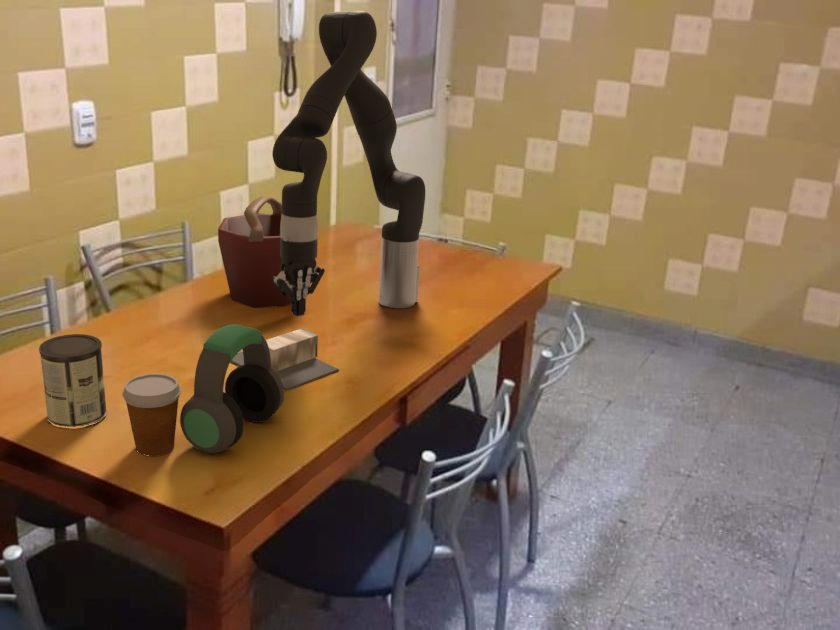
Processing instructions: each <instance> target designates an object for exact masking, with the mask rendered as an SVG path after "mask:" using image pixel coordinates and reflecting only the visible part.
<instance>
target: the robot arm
mask: <svg viewBox="0 0 840 630" xmlns="http://www.w3.org/2000/svg"><path fill="white" fill-rule="evenodd" d="M377 30H378V29H377V25H376V22H375V19H374V17H373V16H372V14H370V13H369V12H368V11H366V10H343V11H330V12H327V13H324V15H322V16H321V18H320V20H319V23H318V35H319V39H320V40H319V41H320V44H321V48H322V50H323V52H324V54H325V57H326V59H327V61H328V63H329V65H330V67H329V68H328V69H326V71H324V72H323V73H322V74H321V75H320V76H319V77H318V78H316V80H315V81H314V82H313V83H312V84H311V85H310V86H309V88H308V90H306V93H305V95H304V97H303V100H302V102H301V104H300V107H299V109H298V111H297V113H296V115H295V116H294V117H293V119H291V120H290V122H289V123H288V125H286V126H285V128H284V129H283V130H282V131H281V133H279V135H278V137H277V138H276V139H275V141H274V144H273V147H272V152H271V153H272V160H273V164H275V166H276V167H277V168H278V169H279V170H283V171H284V172H285V171H287V172H294V173H302V174H303V178H302V181H298V182H297V181H295V182H289V183H287V184H285V185H284V186H283V187H282V190H281V204H282V216H281V224H280V256H281V258H282V265H281V268H280V270H281V272H280V273H279V275H278V276H277V277H275V276H274V277H272V282H273V283H274V285H275V286H276V287H277V288H278V290H279V291H280V292H281V294H282V295H283V296H285V297H288V298H290V299H291V303H290V312H291V313H292V315H293V316H295V317H301V316H304V315H305V313H306V308H307V306H306V305H307V303H306V302H307V298H308V296H309V295H312V294H313V293H314V292H315V290H316V289H317V286H318V285H319V283H320V281H321V279H322V278H323V276H324V274H325V272H326V270H325V268H323V267H320V266H319V265H317V260H316V259H317V258H318V246H319V245H318V239H319V238H318V237H319V235H318V234H319V233H318V231H319V224H318V223H319V222H318V193H319V188H320V186H321V185H320V183H321V180H322V177H323V173H324V171H325V167H326V165H327V159H328V151H327V147H326V145H325V143H324V142H323V141H322V140H321V139H319V138H323V137H325V136H326V135H328V133H329V131H330V129H331V127H332V124H333V121H334V119H335V117H336V114H337V112H338V109H339V108H340V105H341V103H342V100H343V99H345V102H346V103H347V106H348V110H349V113H350V115H351V116H350V117H351V119H352V122H353V124H354V127H355V130H356V133H357V135H358V137H359V139H360V142H361V145H362V148H363V151H364V154H365V157H366V161H367V162H368V163H367V164H368V167H369V171H370V175H371V179H372V184H373V188H374V191H375V195H376V198H377V199H378V202H379V203H380V204H381V205H382V206H384V207H385V208H388V209H391V210H395V211H398V212H397V219H396V220H394V221H393V220H392V221H389V222H386V223H384V224H383V225H382V227H381V239H380V240H381V241H380V243H381V244H380V266H379V288H378V289H379V290H378V302H379V304H380V306H381V305H382V306H383V307H386V308H390V309H407V308H411V307H413V306H414V305H416V302H418V300H419V299H418V298H419V287H420V285H419V284H420V283H419V282H420V281H419V280H420V269H421V267H420V265H418V259H419V244H420V243H419V241H420V232H421V229H422V226H423V221H424V214H425V213H424V211H425V204H426V203H425V202H426V184H425V182H424V179H423V178H422V177H421V176H419V175H417V174H413V173H409V172H403V171H400V170H399V169H398V168H397V167H396V164H395V163H394V159H393V155H392V147H393V144H394V142H395V138H396V136H397V131H398V126H397V120H396V117H395V114H394V113H395V112H394V111H393V107H392V105H391V104H392V103H391V102H390V99H389V97H388V96H387V95H386V93H385V92H384V91H383V90H382V89H381V88H380V87H379V86H378V85H377V84H376V83H375V82H374V81H373V80H372V79H371V78H369V76H368V75H367V74H366V73H364V71H363V70H362V67H363V66H364V65H365V63H366V62H367V60H368V59H369V57H370V55H371V54H372V52H373V50H374V48H375V45H376V42H377V37H378V36H377V33H378V32H377ZM285 278H286V279H285ZM286 280H287V281H286ZM286 283H287V284H286Z"/></svg>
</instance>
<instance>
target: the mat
mask: <svg viewBox="0 0 840 630" xmlns="http://www.w3.org/2000/svg"><path fill="white" fill-rule="evenodd" d="M230 363H233V364H234V365H236V366H237V367H239V366H242V365H244V356H243V351H239V352H238V353H237V354H236V355H235V357H234V358H233V359H232V361H231V362H230ZM336 372H339V368H337V367H335V366H333V365H331V364H329V363H327V362H326V361H325V362H324V361H322V360H320V359H318V358H317V357H315V358H312V359H310V360H307V361H304V362H301V363H298V364H296V365H293V366H290V367H287V368H284V369H282V370H279V371H276V373H277V374H278V375H279V377H280V379H281V381H282V383H283V387H284V391H289V390H292V389H294V388H298V387H299V386H302V385H305V384H307V383H310V382H313V381H316V380H318V379H321V378H323V377H326V376H328V375H331V374H333V373H336Z"/></svg>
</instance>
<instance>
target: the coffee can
mask: <svg viewBox="0 0 840 630" xmlns="http://www.w3.org/2000/svg"><path fill="white" fill-rule="evenodd" d="M102 344H103V343H102V341H101V339H99V337H96V336H94V335H89V334H85V333H84V334H81V333H79V334H78V333H76V334H75V333H73V334H63V335H59V336H55V337H51V338H49V339H47V340H45V341H43V342H42V343H40V345H39V347H38V351H39V355H40V360H41V363H40V364H41V372H42V379H43V388H44V396H45V397H44V398H45V404H46V415H47V417H48V420H49V421H50V422H51V423H53V424H55V425H59V426H65V427H66V426H67V427H76V426H84V425H89V424H92V423H96V422H98V421H100V422H102V421H103V420H104V419H105V418H106V417H107V415H106V414H108V410H107V404H106V403H107V401H106V391H105V379H104V365H103V355H102V347H103V345H102ZM105 416H106V417H105ZM104 417H105V418H104ZM103 418H104V419H103ZM102 419H103V420H102ZM48 420H47V421H48ZM101 420H102V421H101Z"/></svg>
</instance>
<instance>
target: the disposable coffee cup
mask: <svg viewBox="0 0 840 630" xmlns="http://www.w3.org/2000/svg"><path fill="white" fill-rule="evenodd" d="M181 393H182V387H181V385H180V384H179V380H177V378H176V377H174V376H172V375H170V374H166V373H147V374H141V375H137V376H135V377H132V378H131V379H129V380H128V381H126V383H125V384H124V388H123V390H122V391H121V395H122V397H123V399H124V401H125V403H126V407H127V412H128V417H129V421H130V422H129V423H130V427H131V431H132V436H133V440H134V441H133V442H134V446H135V450H137V451H138V452H139V453H141V454H145V455H149V456H148V457H159V456H158V455H160V456H163V454H164V455H167V454H168V453H170V452H172V450H174V448H175V439H176V429H177V420H178V419H177V418H178V410H179V409H178V407H179V398H180V395H181ZM137 451H136V452H137ZM138 452H137V453H138ZM139 453H138V454H139ZM141 454H140V455H141Z"/></svg>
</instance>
